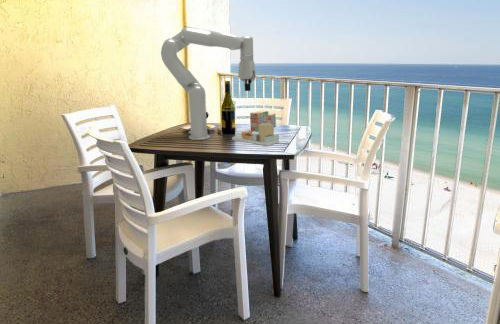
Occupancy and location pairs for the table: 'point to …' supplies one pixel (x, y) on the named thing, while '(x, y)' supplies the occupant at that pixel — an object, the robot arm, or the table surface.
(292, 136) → the table surface
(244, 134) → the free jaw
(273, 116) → the stack of blocks
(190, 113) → the robot arm
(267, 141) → the vise
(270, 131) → the brass block
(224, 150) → the table surface
